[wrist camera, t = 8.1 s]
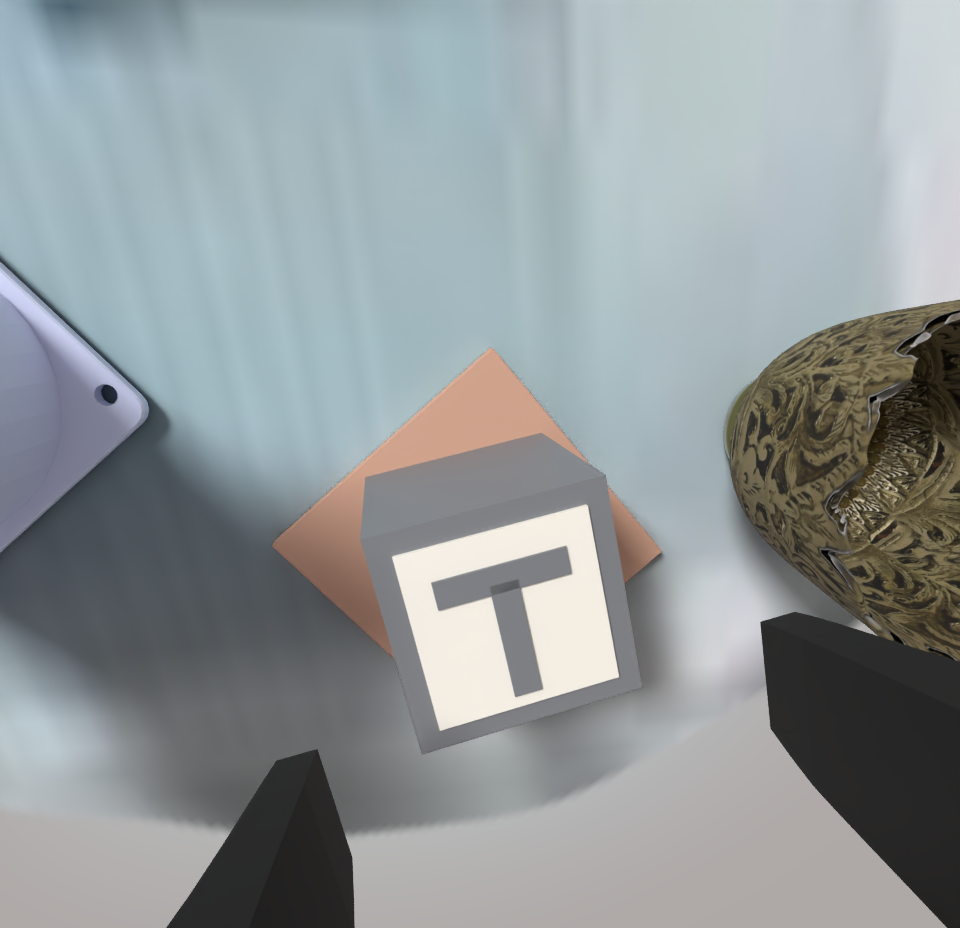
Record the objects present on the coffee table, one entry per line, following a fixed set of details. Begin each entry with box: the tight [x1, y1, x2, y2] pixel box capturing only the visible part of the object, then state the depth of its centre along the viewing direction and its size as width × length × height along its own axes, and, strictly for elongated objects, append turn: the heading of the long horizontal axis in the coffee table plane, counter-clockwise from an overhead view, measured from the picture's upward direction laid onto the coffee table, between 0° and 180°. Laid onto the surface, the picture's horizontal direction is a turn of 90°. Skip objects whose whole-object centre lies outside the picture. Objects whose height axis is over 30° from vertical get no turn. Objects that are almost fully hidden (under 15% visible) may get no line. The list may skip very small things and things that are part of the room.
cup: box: [723, 300, 960, 661], centre depth 15 cm, size 7×7×8 cm
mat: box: [272, 348, 662, 658], centre depth 18 cm, size 8×8×1 cm
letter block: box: [360, 433, 642, 754], centre depth 15 cm, size 5×5×5 cm
